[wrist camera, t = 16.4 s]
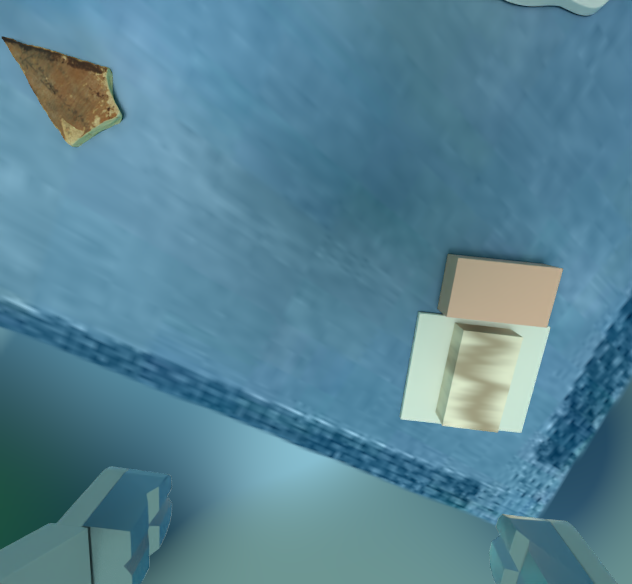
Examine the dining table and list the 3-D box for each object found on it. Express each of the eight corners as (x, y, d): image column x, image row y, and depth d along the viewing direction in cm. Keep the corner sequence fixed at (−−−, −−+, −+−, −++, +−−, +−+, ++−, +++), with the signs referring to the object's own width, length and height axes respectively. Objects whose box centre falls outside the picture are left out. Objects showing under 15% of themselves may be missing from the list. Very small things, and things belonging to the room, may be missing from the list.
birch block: (454, 322, 37) (435, 412, 39) (463, 330, 34) (442, 425, 37) (510, 329, 36) (487, 418, 39) (523, 337, 34) (497, 432, 37)
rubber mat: (399, 416, 40) (400, 419, 40) (418, 311, 37) (419, 313, 36) (518, 429, 40) (521, 432, 39) (546, 325, 37) (550, 327, 36)
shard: (14, 44, 33) (-3, 34, 31) (78, 3, 32) (63, -10, 30) (77, 150, 35) (63, 147, 33) (138, 115, 34) (128, 110, 32)
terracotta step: (437, 308, 37) (446, 316, 34) (448, 253, 35) (458, 257, 33) (529, 318, 37) (546, 327, 34) (543, 263, 35) (563, 268, 32)
